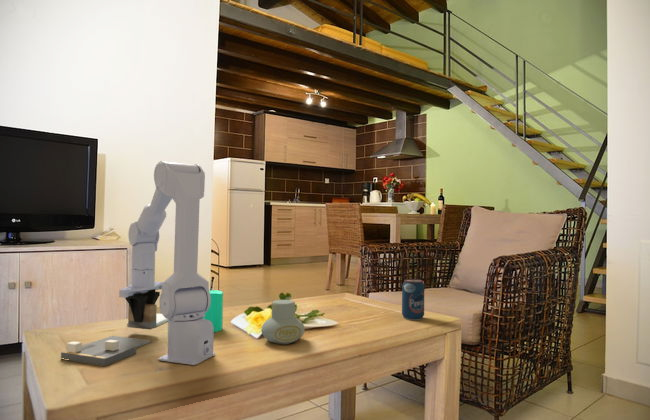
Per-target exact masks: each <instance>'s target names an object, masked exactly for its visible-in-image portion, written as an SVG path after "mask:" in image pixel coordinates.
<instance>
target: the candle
mask: <svg viewBox="0 0 650 420" xmlns="http://www.w3.org/2000/svg"><path fill="white" fill-rule="evenodd" d="M209 292H210V296H211V304H210V307H209V309H208V311H207V312H206V313H205V316H204V317H203V318H204V319H206V320H209V321H211V322H212V324H213V328H214V333H216V332H217V333H218V332H220V331H222V330H223V320H224V317H223V316H224V315H223V313H224V312H223V311H224V308H223V307H224V291H221V290H218V289H211V290H210V289H209Z"/></svg>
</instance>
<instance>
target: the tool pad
mask: <svg viewBox="0 0 650 420" xmlns="http://www.w3.org/2000/svg"><path fill="white" fill-rule="evenodd" d="M108 340H118V341H119V345H125V346H133V347H136V349H137V348H140V347H142V346H145V345H147V344H150V343H151V341H152V340H149V339H142V338H141V339H140V338H134V337H133V338H132V337H127V336H117V335H111V336H107V337H105V338H101V339H97V340H95V341H94V342H102V343H105V341H108Z"/></svg>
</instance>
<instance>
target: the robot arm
mask: <svg viewBox="0 0 650 420" xmlns="http://www.w3.org/2000/svg"><path fill="white" fill-rule="evenodd" d="M153 172H154V173H153V180H154V186H155V189H154V190H155V191H154V193H153V196H152V198H151V202H150V203H149V204H146V205H144V207H143V209H142V211H141V213H140V215H139V217H138V220H137V221H134V222H131V223H130V225H129V227H128V235H127V236H128V243H129V244H130V246H131V275H130V277H131V278H130V279H131V281H130V282H131V284H129V285H128V286H126V287H124V288H120V289H119V293H118V294H119V298H124V299H125V300H126V302H127V304H128V307H129V306H130V308H131V311H132V314H133V318H134V322H142V321H143V316H144V307H145V304H155V305H156V302H157V301H158V299H159V310H160V314H162V315H163V316H164V317H165V318H167V319H168V321H167V353H166V354H164V355H162V356H160V357H158V361H162V362H169V363H175V364H181V365H182V364H183V365H189V366H196V365H198V364H200V363H202V362H204V361H205V360H208V359H210V358H212V357H213V356H215V355H216V352H214V333H215V332H214V328H213V324H212V322H211V321H209V320H206V319H204V318H203V317H204V316H205V313H206V312H207V311H208V309H209V307H210V304H211V296H210V292H209V290H210V284H209V281H208V280H207V279H206V278H205V277H203V275H201V274H200V273H199V272H198V256H199V254H198V253H199V231H200V229H199V227H200V220H199V219H200V200H201V199H203V198H204V197H205V186H206V185H205V184H206V183H205V181H206V173H205V171H204V169H203V168H202V167H201V165H200V164H199V163H198V164H196V163H195V164H190V163H179V162H170V161H164V160H160V161H158V163H157V164H156V165H155V167H154V171H153ZM172 200H173V202H174V203H175V217H174V218H175V220H174V223H175V225H174V247H173V248H174V252H173V253H174V254H173V255H174V256H173V273H172V274H171V275H170V276H168V277H167V278H166V280H164V281H156V282H155V279H156V277H155V276H156V252H157V251H158V243H159V242H160V241H159V240H160V229H161V227H162V225H163V223H164V222H165V220H166V218H167V212H166V209H167V207H168V205H169V204H170V202H171V201H172ZM158 290H161V291H158ZM160 293H161V294H160Z"/></svg>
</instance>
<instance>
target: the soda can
mask: <svg viewBox="0 0 650 420" xmlns="http://www.w3.org/2000/svg"><path fill="white" fill-rule="evenodd" d="M403 281H404V282H403V283H402V286H401V289H402V290H401V315H402V316H403V318H404V320H408V321H421V320H422V319H423V318H424V317H425V284H424V281H423V279H418V278H406V279H404V280H403Z"/></svg>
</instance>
